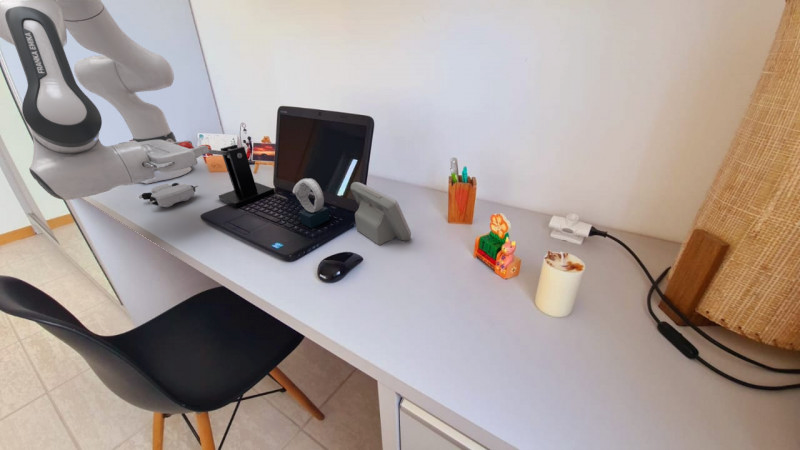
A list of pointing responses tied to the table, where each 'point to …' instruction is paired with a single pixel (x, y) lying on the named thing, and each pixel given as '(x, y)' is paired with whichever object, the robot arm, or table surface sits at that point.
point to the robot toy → (169, 194)
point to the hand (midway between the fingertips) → (198, 146)
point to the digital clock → (378, 215)
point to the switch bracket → (242, 179)
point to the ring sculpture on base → (311, 213)
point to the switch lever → (190, 146)
